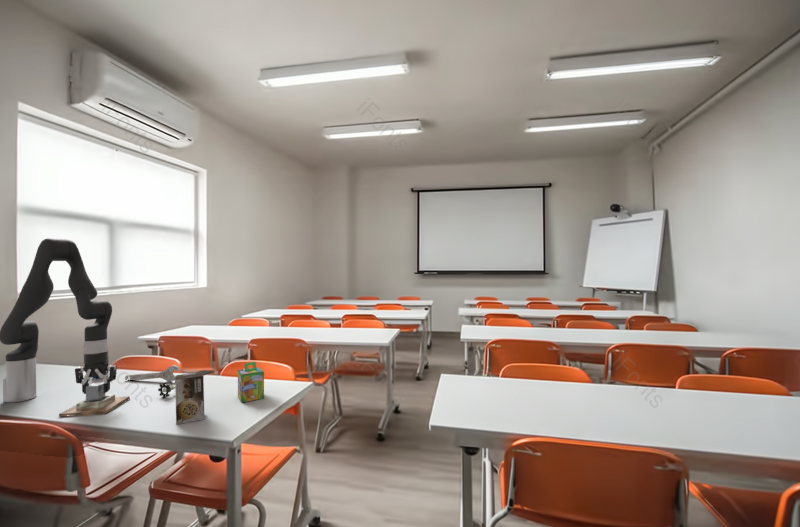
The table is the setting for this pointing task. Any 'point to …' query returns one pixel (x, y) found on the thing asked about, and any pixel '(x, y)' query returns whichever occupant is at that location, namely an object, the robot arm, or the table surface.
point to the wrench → (156, 374)
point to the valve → (165, 389)
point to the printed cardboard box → (189, 397)
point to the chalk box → (250, 383)
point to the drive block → (95, 392)
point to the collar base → (95, 406)
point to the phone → (206, 372)
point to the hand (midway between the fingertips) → (96, 392)
